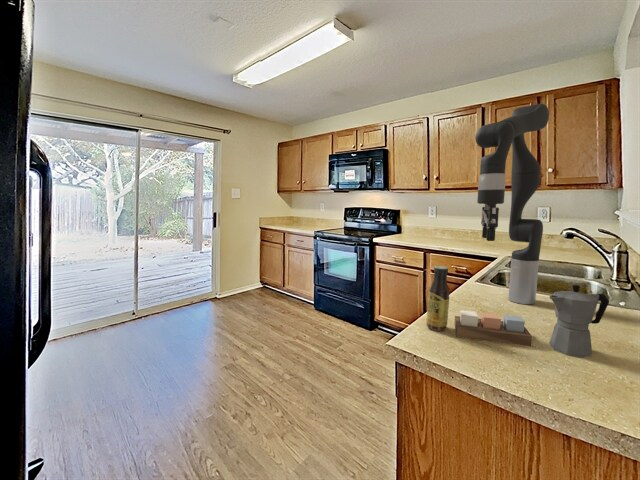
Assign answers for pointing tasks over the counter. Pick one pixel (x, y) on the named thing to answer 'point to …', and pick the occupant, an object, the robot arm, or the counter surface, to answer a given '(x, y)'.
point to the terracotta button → (490, 321)
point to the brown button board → (492, 334)
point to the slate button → (513, 323)
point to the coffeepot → (575, 321)
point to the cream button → (468, 318)
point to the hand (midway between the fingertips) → (488, 239)
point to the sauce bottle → (438, 300)
